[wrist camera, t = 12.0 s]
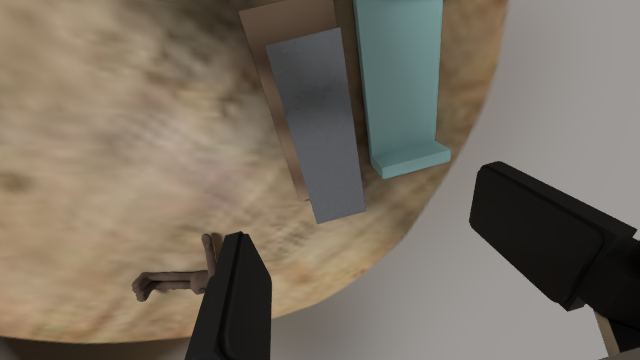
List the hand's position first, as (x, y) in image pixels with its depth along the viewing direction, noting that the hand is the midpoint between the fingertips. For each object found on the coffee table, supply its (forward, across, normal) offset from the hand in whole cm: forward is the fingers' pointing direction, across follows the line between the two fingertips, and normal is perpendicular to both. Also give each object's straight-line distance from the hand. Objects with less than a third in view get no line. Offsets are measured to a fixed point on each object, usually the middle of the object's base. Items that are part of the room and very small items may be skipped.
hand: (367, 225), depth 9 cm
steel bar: (+13, 0, 0) cm, 13 cm away
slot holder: (+18, -10, -2) cm, 21 cm away
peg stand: (+18, 0, 0) cm, 18 cm away
